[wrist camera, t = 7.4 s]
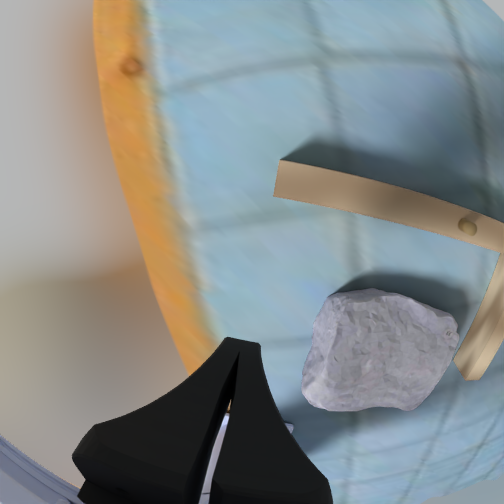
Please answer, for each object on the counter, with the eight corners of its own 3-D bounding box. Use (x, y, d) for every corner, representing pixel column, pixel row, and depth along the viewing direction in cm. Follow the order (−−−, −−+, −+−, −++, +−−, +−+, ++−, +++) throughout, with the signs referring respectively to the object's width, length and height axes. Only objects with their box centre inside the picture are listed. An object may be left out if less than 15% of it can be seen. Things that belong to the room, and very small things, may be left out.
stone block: (320, 271, 21) (294, 384, 23) (333, 288, 17) (298, 419, 18) (445, 290, 21) (412, 388, 22) (477, 306, 16) (432, 416, 18)
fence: (466, 360, 20) (482, 384, 17) (248, 336, 22) (241, 367, 18) (521, 230, 16) (548, 244, 12) (280, 159, 17) (278, 160, 14)
